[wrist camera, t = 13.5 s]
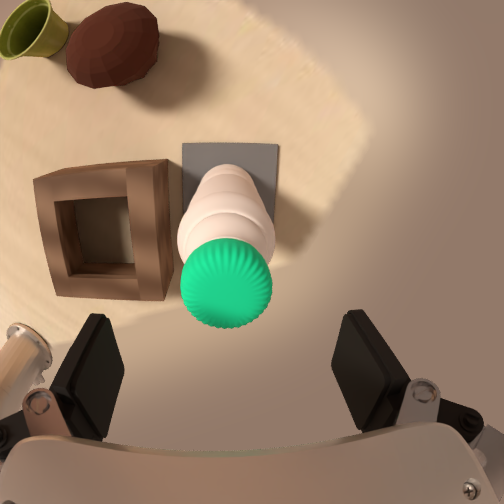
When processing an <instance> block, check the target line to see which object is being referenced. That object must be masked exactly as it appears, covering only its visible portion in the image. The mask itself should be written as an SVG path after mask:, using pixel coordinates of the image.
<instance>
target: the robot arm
mask: <svg viewBox="0 0 504 504" xmlns="http://www.w3.org/2000/svg"><path fill="white" fill-rule="evenodd" d="M7 339H8V341H7V342H6V343H5V345H4V346H3V347H2V349H1V350H0V504H499V502H500V500H501V498H502V496H503V494H504V434H502V433H501V432H499V431H498V430H496V429H495V428H493V427H492V426H490V425H488V424H487V426H484V422H483V418H482V416H481V415H480V414H479V413H478V412H477V411H476V410H474V409H472V408H468V407H466V406H463V405H459V404H457V403H453V402H451V401H448V400H445V399H442V398H440V390H439V388H438V387H437V385H436V384H435V383H433V382H432V381H430V380H428V379H423V378H418V379H414V380H412V381H411V379H410V378H409V376H408V374H407V373H406V371H405V370H404V368H403V367H402V365H401V364H400V362H399V361H398V359H397V358H396V356H395V355H394V353H393V352H392V350H391V349H390V347H389V346H388V345H387V343H386V342H385V340H384V339H383V337H382V336H381V334H380V333H379V332H378V330H377V329H376V327H375V326H374V324H373V323H372V322H371V320H370V319H369V317H368V316H367V315H366V313H365V312H364V311H363V310H362V309H360V310H350V311H348V312H347V314H345V315H344V316H343V320H342V324H341V328H340V332H339V336H338V340H337V344H336V347H335V351H334V354H333V358H332V362H331V367H332V370H333V373H334V375H335V377H336V380H337V382H338V384H339V387H340V389H341V391H342V394H343V396H344V398H345V401H346V403H347V406H348V408H349V410H350V412H351V415H352V418H353V420H354V422H355V425H356V427H357V428H358V430H361V431H362V433H361V434H358V435H353V436H348V437H343V438H338V439H333V440H328V441H323V442H316V443H310V444H303V445H296V446H288V447H279V448H270V449H257V450H240V451H183V450H166V449H154V448H143V447H135V446H128V445H119V444H113V443H107V442H102V439H103V438H106V436H107V434H108V430H109V425H110V422H111V418H112V414H113V411H114V407H115V403H116V399H117V396H118V393H119V389H120V386H121V383H122V379H123V376H124V364H123V361H122V358H121V355H120V352H119V349H118V346H117V343H116V339H115V336H114V332H113V329H112V325H111V322H110V319H109V318H106V316H105V315H104V314H94V313H92V314H90V315H89V317H88V319H87V320H86V322H85V324H84V325H83V327H82V329H81V331H80V332H79V334H78V336H77V338H76V340H75V341H74V343H73V345H72V346H71V347H70V349H69V351H68V353H67V355H66V357H65V359H64V361H63V362H62V364H61V366H60V368H59V370H58V372H57V374H56V376H55V378H54V380H53V382H52V384H51V386H50V388H49V390H48V389H45V388H37V389H33V390H32V391H30V392H29V393H28V391H29V389H30V387H31V386H32V384H34V385H38V384H40V383H44V382H45V380H44V378H43V376H42V375H41V374H42V372H43V370H46V369H48V368H49V367H50V366H51V364H52V355H51V352H50V350H49V348H48V346H47V344H46V343H45V342H44V340H43V339H42V338H41V337H40V336H39V335H38V334H37V333H36V332H35V331H33V330H32V329H31V328H29V327H27V326H25V325H23V324H19V323H14V324H12V325H10V326H9V328H8V329H7ZM27 393H28V394H27ZM21 405H22V408H23V410H21V411H19V409H20V407H21ZM18 411H19V412H18Z"/></svg>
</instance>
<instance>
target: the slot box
mask: <svg viewBox="0 0 504 504" xmlns="http://www.w3.org/2000/svg"><path fill="white" fill-rule="evenodd" d="M33 184H34V193H35V200H36V207H37V214H38V220H39V225H40V231H41V236H42V241H43V246H44V250H45V254H46V259H47V263H48V267H49V271H50V274H51V278H52V282H53V285H54V289H55V292H56V295H57V296H63V297H78V298H94V299H114V300H139V301H164V300H165V296H166V293H167V290H168V287H169V284H170V281H171V278H172V275H173V272H174V268H173V257H172V244H171V230H170V213H169V190H168V159H160V160H142V161H128V162H116V163H106V164H96V165H87V166H79V167H71V168H64V169H61V170H58V171H55V172H52V173H49V174H46V175H43V176H41V177H38V178H35V179H33ZM120 196H127V198H128V210H129V220H130V230H131V238H132V247H133V254H134V261H135V263H84V262H83V257H82V252H81V247H80V241H79V235H78V229H77V223H76V216H75V209H74V201H73V200H75V199H88V198H103V197H120Z"/></svg>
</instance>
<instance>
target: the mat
mask: <svg viewBox="0 0 504 504" xmlns="http://www.w3.org/2000/svg"><path fill="white" fill-rule="evenodd" d="M277 150H278V144H261V143H182V170H183V211H184V214H185V213H186V211H187V209H188V207H189V204H190V202H191V200H192V198H193V196H194V195H195V193H196V191H197V189H198V186H199V185H200V182H201V180H202V178H203V177H204V175H205V174H206V173H207V172H208V171H209V170H211V169H212V168H214V167H216V166H219V165H223V164H232V165H236V166H239V167H241V168H242V169H244V170H245V171H246V172H247V173H248V174H249V175H250V176H251V178H252V180H253V182H254V185H255V187H256V189H257V192H258V194H259V196H260V198H261V200H262V202H263V204H264V206H265V209H266V212H267V213H268V215H269V217H270V219H271V221H272V223H273V222H274V205H275V188H276V169H277Z"/></svg>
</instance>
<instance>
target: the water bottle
mask: <svg viewBox="0 0 504 504" xmlns="http://www.w3.org/2000/svg"><path fill="white" fill-rule="evenodd" d="M177 244H178V250H179V254H180V257H181V259H182V261H183V263H184V267H183V270H182V275H181V285H180V289H181V296H182V299H183V301H184V305H185V306H187V309H188V311H189V312H191V314H192V315H193V316H194V317H196V318H197V320H198V321H202V323H203V324H208V325H209V326H215V327H216V328H221V327H222V328H224V329H226V328H231V329H232V328H234V327H238V328H239V327H241V326H242V325H246V324H247V323H249V322H252V321H253V320H254V319H256V318H258V316H259V315H260V314H262V313H263V311H264V309H266V308H267V306H268V303H269V302H270V299H271V295H272V278H271V274H270V271H269V268H268V264H269V262H270V260H271V258H272V256H273V253H274V248H275V230H274V226H273V223H272V221H271V219H270V217H269V215H268V213H267V212H266V209H265V206H264V204H263V202H262V200H261V198H260V196H259V194H258V192H257V189H256V187H255V185H254V182H253V180H252V178H251V176H250V175H249V174H248V173H247V172H246V171H245V170H244V169H242V168H241V167H239V166H236V165H232V164H223V165H219V166H216V167H214V168H212V169H211V170H209V171H208V172H207V173H206V174H205V175H204V177H203V178H202V180H201V182H200V185H199V186H198V189H197V191H196V193H195V195H194V196H193V198H192V200H191V202H190V204H189V207H188V209H187V211H186V213H185V214H184V216H183V218H182V220H181V222H180V225H179V229H178V235H177Z"/></svg>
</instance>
